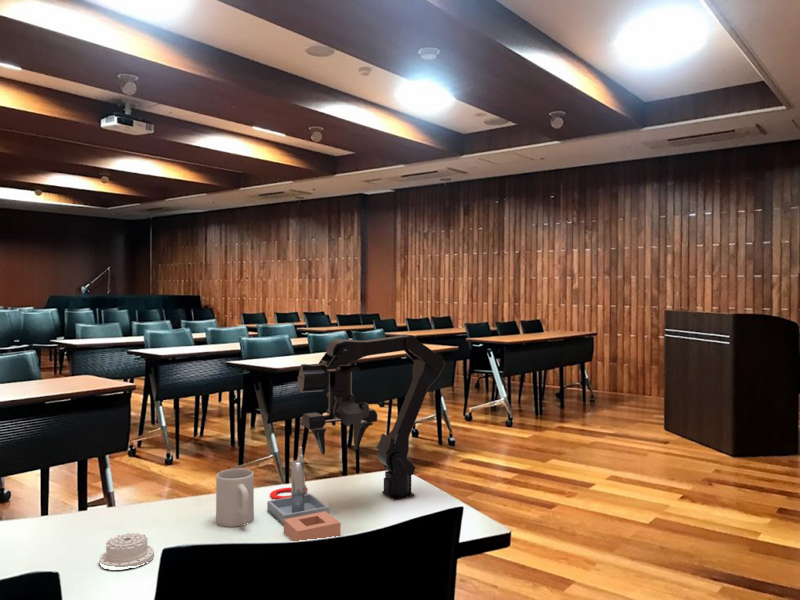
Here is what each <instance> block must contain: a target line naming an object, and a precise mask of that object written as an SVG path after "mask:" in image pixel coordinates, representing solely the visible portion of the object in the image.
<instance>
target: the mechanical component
mask: <svg viewBox="0 0 800 600" xmlns="http://www.w3.org/2000/svg"><path fill="white" fill-rule="evenodd" d="M105 549H106V551H105V552H103V553H102V554H101V555H100V556H99V563H100V562H101V563H102V564H104V565H107V566H115V567H126V566H127V567H128V566H137V565H141V564H143V563H146V562H149V561H150V562H151V561H153V560H152V559H154V558H155V549H154V547H152V546H150V545H148V537H147V536H146V534H141V533H139V532H131V533H130V532H127V533H123V534H121V535H120V534H119V535H117V536H115V537H113V538H112V537H111V538H109V539H107V542H106V546H105ZM153 557H154V558H153ZM150 562H149V563H150Z"/></svg>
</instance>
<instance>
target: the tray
mask: <svg viewBox="0 0 800 600" xmlns="http://www.w3.org/2000/svg"><path fill="white" fill-rule="evenodd" d="M266 503H267V504H266V505H267V506H266V507H267V508H266V509H267V510H266V511H267V513H268V514H269V515H270V516H272V517H273V518H275V520H276V521H277V520H278V522H279V524H281V525H282V526H283V527H284V519H288V518H293V517H298V516H304V515H309V514H314V513H319V512H324V511H325V512H327V513H328V514H330V506H329V505H327V504H326V503H324V502H323V501H322V500H320V499H318V498H317V497H316V496H315V495H313V494H311V493H306V494H305V495H304V511H301V512H295V513H292V497H288V498H282V499H277V500H273V499H271V500H268V501H267V502H266Z"/></svg>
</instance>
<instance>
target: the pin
mask: <svg viewBox="0 0 800 600" xmlns="http://www.w3.org/2000/svg"><path fill="white" fill-rule="evenodd" d="M290 465H291V474H290V475H291V488H292V492H291V495H292V513H295V512H301V511H304V476H305V460H303V461H302V460H299V459H298V460H292V461H291V464H290Z"/></svg>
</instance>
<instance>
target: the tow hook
mask: <svg viewBox="0 0 800 600" xmlns="http://www.w3.org/2000/svg"><path fill="white" fill-rule="evenodd" d="M298 453H299V454H298V460H302V461H304V454H303V446H298ZM308 491H309V490H308V487H307V485H306V476H305V475H304V495H305V494H307V492H308ZM282 493H292V487H282V488H278V489H275V490H272V491H271V492H270V493H269V498H270V497H271V498H272V499H271V498H270V499H271V500H273V499H275V500H277V499H282V498H288V497H292V494H290V495H279V494H282Z"/></svg>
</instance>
